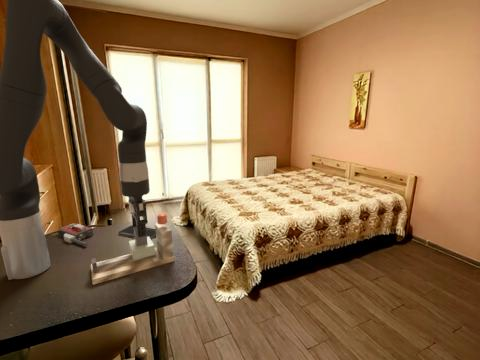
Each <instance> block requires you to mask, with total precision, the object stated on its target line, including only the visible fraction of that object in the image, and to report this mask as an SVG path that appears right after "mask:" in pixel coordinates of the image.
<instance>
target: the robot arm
mask: <svg viewBox="0 0 480 360" xmlns="http://www.w3.org/2000/svg"><path fill="white" fill-rule="evenodd" d="M5 13H6V14H5V15H6V16H5V17H6V18H5V34H4V35H5V37H4V44H3V45H4V47H3V53H2V60H1V66H0V67H1V69H0V240H1V244H2V246H1V248H0V251H1V256H2V259H3V263H4V264H3V265H4V267H5V272H6V275H7V279H8V281H10V280H22V279H28V278H29V279H30V278H32V277H35V276H37V275H40V274H41V273H44V272H45V271H46V270H49V269H50V267H51V259H50V253H49V249H48V244H47V240H46V235H45V229H44V224H43V220H42V215H41V211H40V202H41V194H40V193H41V192H40V187H39V186H40V185H39V179H38V175H37V174H38V173H37V171H36V168H35V166H34V164H33V163H32V162H31V161H30V160H28V159H27V158H25V152H26V147H27V144H28V142H29V140H30V137H31V136H32V134H33V132H34V131H35V129H36V127H37V126H38V124H39V122H40V120H41V118H42V115H43V112H44V108H45V104H46V99H47V93H48V86H47V80H46V75H45V71H44V66H43V62H42V58H41V57H42V55H41V45H42V40H43V37H44V36H43V35H45V37H47V38H48V39H49V40H50V41H52V42H53V43H54V44H55V45H56V46H57V47H58V48H59V49H60V50H61V51H62V52H63V53H64V55H65V56H66V58H67V59H68V61H69V63H70V65H71V68H73V70H74V72H75V74H76V76H77V77H78V78H79V80H80V81H81V83H82V84H83V85H84V86H85V88H86V89H87V90H88V92H90V94H91V95H92V96H93V98H95V100H97V102H98V105H99V107H100V108H101V110H102V112H103V113H104V115H105V117H106V119H107V120H108V121H109V123H110V124H111V125H112V126H113V127H114V128H116V130H117V129H118V130H119V131H122V137H121V140H120V141H119V142H118V145H117V154H118V155H117V156H118V162H119V163H118V165H119V166H118V167H119V168H118V172H119V182H120V193H121V195H122V196H124V197H127V198H128V210H129V211H130V214H131V221H132V222H131V223H132V225H133V226H134V227H135V226H137V233H138V237H144V236H146V227H147V226H146V225H148V214H147V204H146V201H145V200H146V199H144V197H143V196H145V195H148V194H149V193H150V191H151V190H150V179H149V177H150V175H149V168H148V163H147V154H146V153H147V151H146V139H147V132H148V131H147V130H148V121H147V116H146V113H145V111H144V109H143V108H141V107H140V106H139V105H137V104H134V103H133V104H130V102H128V101H127V98H126V97H124V95H123V90H122V89H123V88H122V87H121V85H120V84H119V82H118V81H117V80H116V79H115V77H114V76H113V75H112V73H111V72H110V71H109V70H108V68H107V67H106V66H105V65H104V64H103V62H101V60H100V59H99V58H98V57H97V55H96V54H95V53H94V51H93V50H92V49H90V47H89V45H88V44H87V42H86V41H85V39H84V38H83V37H82V35H81V34H80V32H79V31H78V29H77V27H76V25H75V24H74V22H73V21H72V19H71V17H70V15H69V13H68V11H67V10H66V9H65V7H64V5H63V4H62V3H61V2H60V1H59V0H6V12H5ZM141 218H142V219H141Z"/></svg>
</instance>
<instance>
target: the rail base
mask: <svg viewBox="0 0 480 360" xmlns="http://www.w3.org/2000/svg"><path fill="white" fill-rule="evenodd" d="M154 229H155V231H156V237H155V239H156V240H155V241H156V246H154V247H155V255H152V256H148V257H144V258H141V259H137V260H134V259H133V257H132V254H131V253H128V254H125V255H120V256H117V257H113V258H109V259H108V258H107V259H105V260H101V261H97V259H96V257H94V258H91V264H90V270H91V274H90V275H91V283H92V285H96V284H101V283H103V282H107V281H111V280H114V279H118V278H122V277H125V276H127V275H132V274H134V273H138V272H141V271H145V270H147V269H151V268H152V269H153V268H154V267H159V266H161V265H166V264H168V263H171V262H175V256H174V246H173V233H172V232H173V231H172V229H171V228H170V226H169V225H167V223H166V224H158V222H156V223H154Z"/></svg>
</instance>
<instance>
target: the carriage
mask: <svg viewBox="0 0 480 360" xmlns="http://www.w3.org/2000/svg"><path fill="white" fill-rule="evenodd" d="M133 228H134V237H135V238H134V239H132V240H129V241H128V245H129V247H128V248H129V252H130V254H132V257H133V259H134V260H137V259H141V258H144V257H148V256H152V255H155V247H156V246H155V244H154V242H153V241H152V239H150V237H147V233H146V236H144V237H138V233H137V227H133Z"/></svg>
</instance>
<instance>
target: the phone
mask: <svg viewBox="0 0 480 360" xmlns="http://www.w3.org/2000/svg"><path fill="white" fill-rule="evenodd" d="M133 227H134V226H133V224H131V225H130V226H127V227H126V228H124V229H122V230H119V231H118V235H119V236H123V237H127V236H128V238H132V237H133V239H135V237H134V228H133ZM135 227H137V226H135ZM146 233H147V237H150V239H151V240H152V238H153V237H154V238H156V237H155V236H156V231H155V228H152V227H147V226H146ZM154 238H153V239H154Z"/></svg>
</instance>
